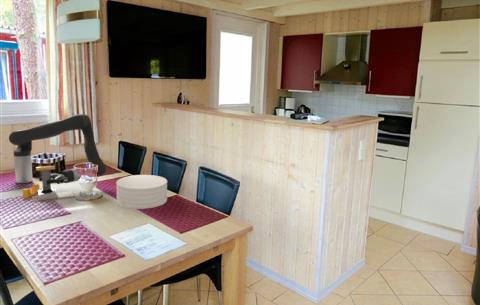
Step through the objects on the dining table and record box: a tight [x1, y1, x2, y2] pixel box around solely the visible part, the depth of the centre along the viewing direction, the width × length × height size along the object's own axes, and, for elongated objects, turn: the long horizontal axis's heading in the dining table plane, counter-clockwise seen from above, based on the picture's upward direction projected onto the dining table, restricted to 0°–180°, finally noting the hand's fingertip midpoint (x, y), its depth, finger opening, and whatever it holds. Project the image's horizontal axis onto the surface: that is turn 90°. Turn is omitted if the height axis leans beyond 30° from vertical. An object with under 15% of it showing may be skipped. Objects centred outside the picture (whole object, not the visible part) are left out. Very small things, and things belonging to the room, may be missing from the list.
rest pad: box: [56, 191, 75, 199], centre depth 207 cm, size 8×8×1 cm
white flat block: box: [37, 187, 58, 202], centre depth 202 cm, size 9×9×4 cm
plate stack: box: [115, 174, 168, 210], centre depth 208 cm, size 28×28×12 cm
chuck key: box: [35, 165, 56, 193], centre depth 200 cm, size 4×9×18 cm, turn 122°
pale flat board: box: [31, 191, 76, 203], centre depth 204 cm, size 11×21×2 cm, turn 122°
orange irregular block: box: [22, 183, 40, 199], centre depth 205 cm, size 12×4×6 cm, turn 2°
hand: (42, 180), depth 199 cm, fingers open, 8 cm apart
